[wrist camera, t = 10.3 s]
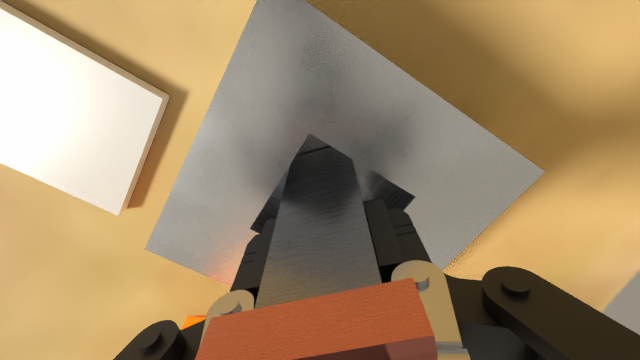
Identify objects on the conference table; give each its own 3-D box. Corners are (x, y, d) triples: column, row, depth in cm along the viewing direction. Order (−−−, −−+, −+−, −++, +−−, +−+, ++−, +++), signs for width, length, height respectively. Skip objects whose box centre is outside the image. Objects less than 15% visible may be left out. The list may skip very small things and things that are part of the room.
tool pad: (-58, 124, 16) (-76, 128, 15) (-49, -28, 13) (-71, -32, 12) (126, 208, 18) (118, 216, 17) (170, 96, 15) (162, 98, 14)
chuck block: (190, 195, 18) (144, 249, 13) (287, -4, 13) (268, -26, 9) (354, 276, 20) (363, 344, 16) (482, 133, 16) (545, 171, 11)
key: (277, 150, 15) (187, 377, 5) (356, 128, 15) (434, 335, 5) (301, 216, 17) (271, 482, 7) (373, 199, 16) (455, 461, 6)
